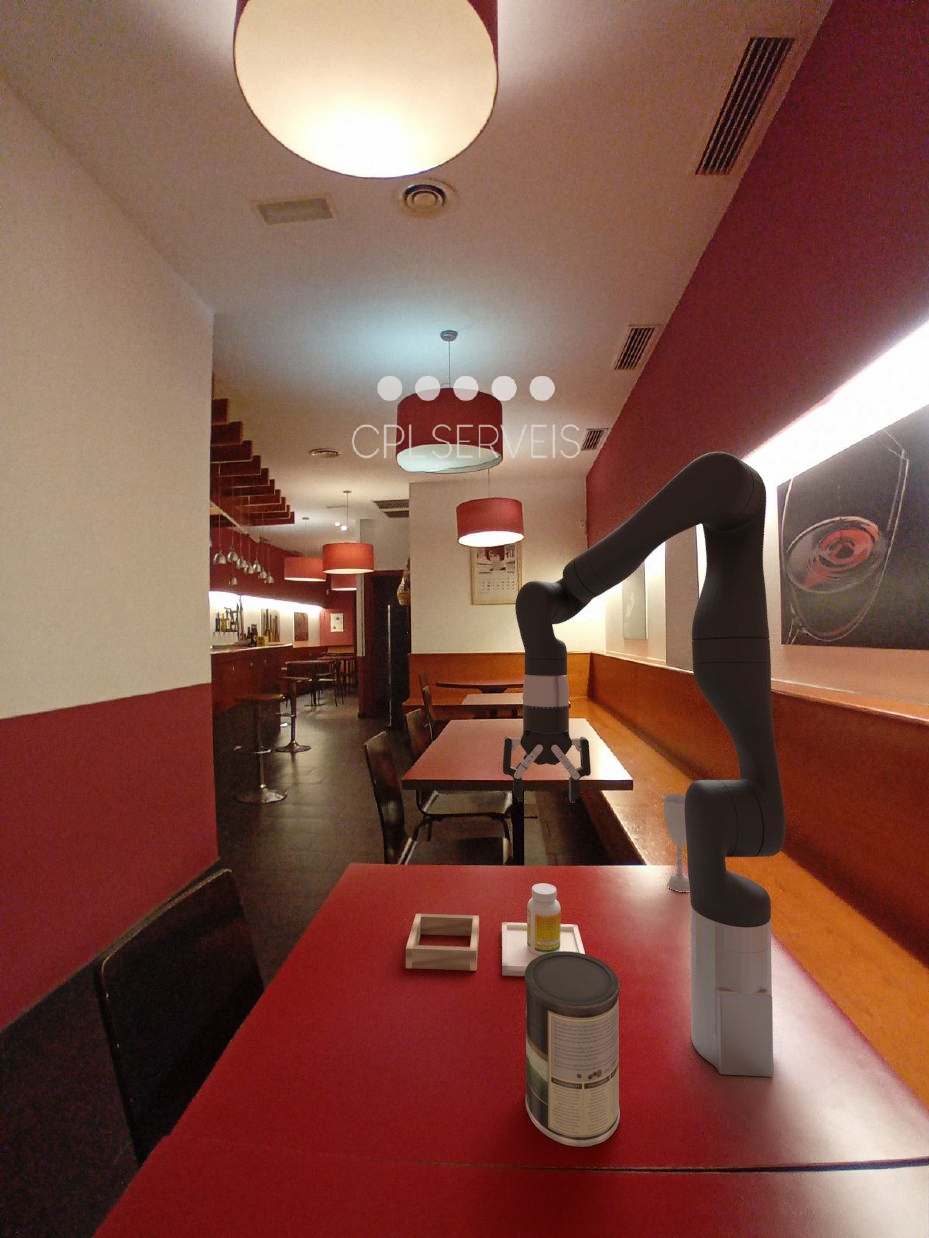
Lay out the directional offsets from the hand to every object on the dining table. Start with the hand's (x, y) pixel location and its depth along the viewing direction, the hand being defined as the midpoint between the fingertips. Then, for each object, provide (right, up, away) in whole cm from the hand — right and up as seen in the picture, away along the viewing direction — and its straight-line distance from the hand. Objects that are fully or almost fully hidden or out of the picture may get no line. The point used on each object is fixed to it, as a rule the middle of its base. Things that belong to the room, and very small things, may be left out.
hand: (546, 800), depth 94 cm
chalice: (+31, -25, +23) cm, 46 cm away
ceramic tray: (-1, -24, -1) cm, 24 cm away
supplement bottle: (-1, -24, -1) cm, 24 cm away
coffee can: (-2, -24, -31) cm, 39 cm away
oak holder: (-17, -24, 0) cm, 30 cm away
